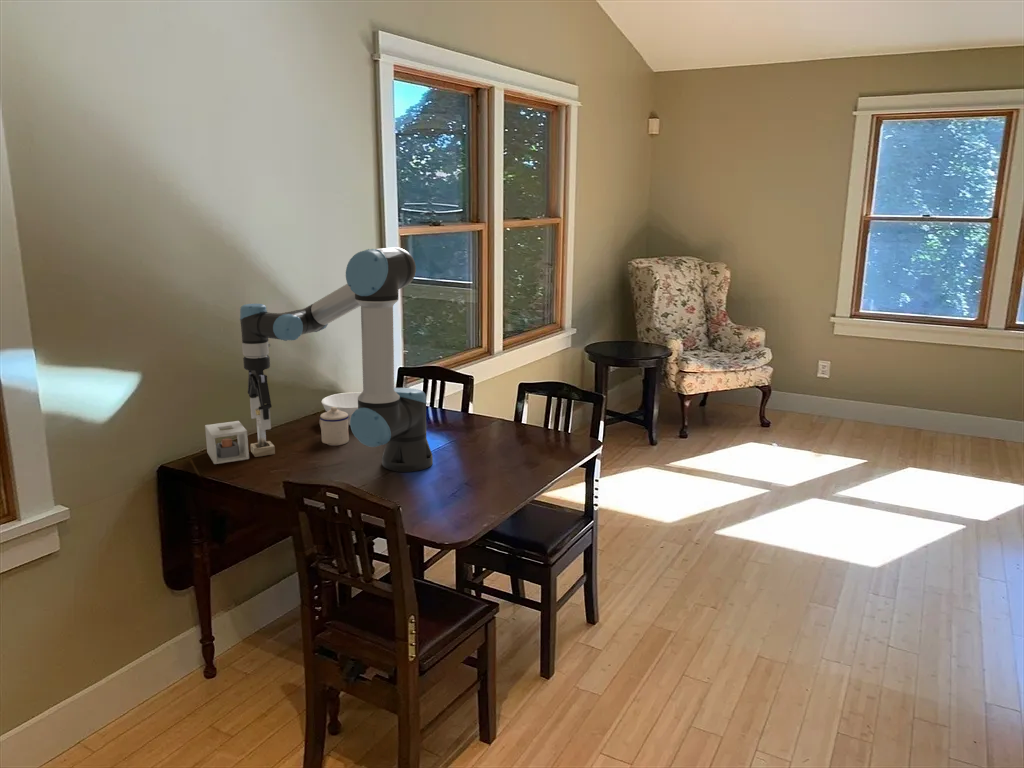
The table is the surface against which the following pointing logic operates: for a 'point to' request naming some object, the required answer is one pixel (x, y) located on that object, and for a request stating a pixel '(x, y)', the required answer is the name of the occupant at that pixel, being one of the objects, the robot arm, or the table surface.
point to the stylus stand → (262, 449)
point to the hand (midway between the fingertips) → (260, 423)
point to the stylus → (260, 431)
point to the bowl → (342, 402)
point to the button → (226, 442)
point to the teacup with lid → (334, 427)
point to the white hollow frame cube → (227, 453)
